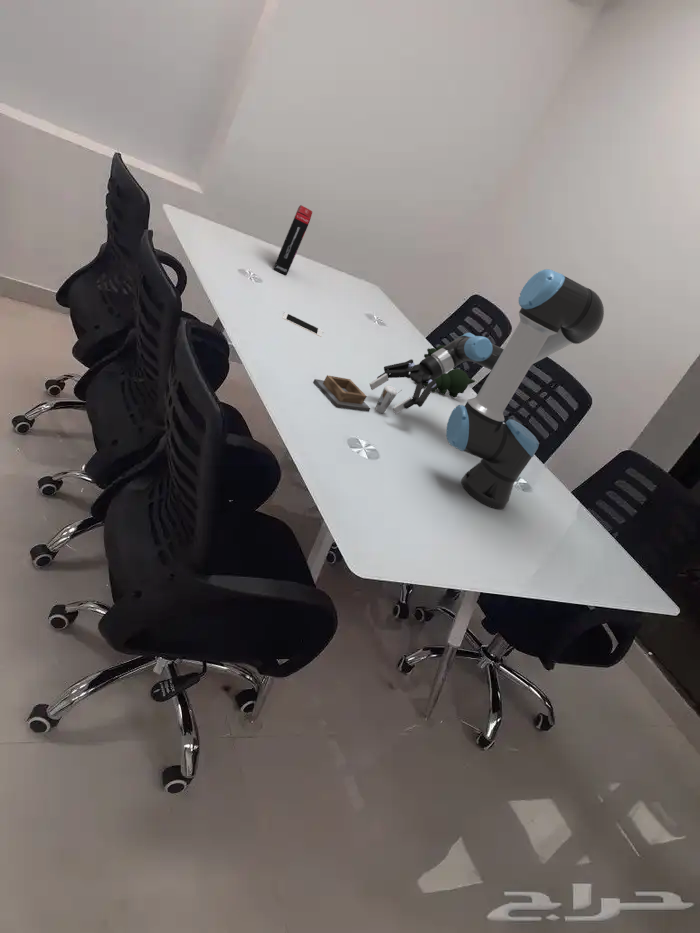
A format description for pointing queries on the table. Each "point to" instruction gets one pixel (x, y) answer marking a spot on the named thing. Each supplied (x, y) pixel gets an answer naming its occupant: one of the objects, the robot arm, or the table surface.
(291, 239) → the graphics card box
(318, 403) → the table surface
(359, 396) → the socket board
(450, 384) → the toy figurine
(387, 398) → the milkshake
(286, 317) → the cell phone
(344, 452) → the table surface
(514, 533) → the table surface
